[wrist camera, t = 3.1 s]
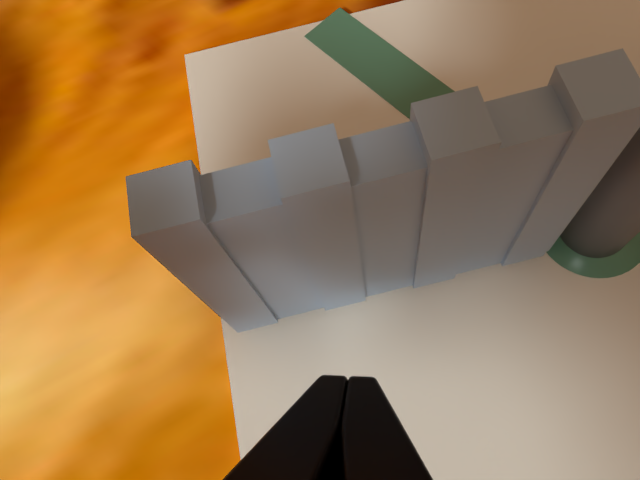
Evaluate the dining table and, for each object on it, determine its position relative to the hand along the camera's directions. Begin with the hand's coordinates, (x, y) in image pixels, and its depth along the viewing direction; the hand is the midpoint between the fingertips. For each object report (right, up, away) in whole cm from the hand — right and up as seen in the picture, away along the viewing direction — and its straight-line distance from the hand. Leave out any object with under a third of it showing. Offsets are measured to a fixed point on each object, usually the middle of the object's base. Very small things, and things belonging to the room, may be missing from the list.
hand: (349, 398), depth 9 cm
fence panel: (+2, +1, +8) cm, 8 cm away
